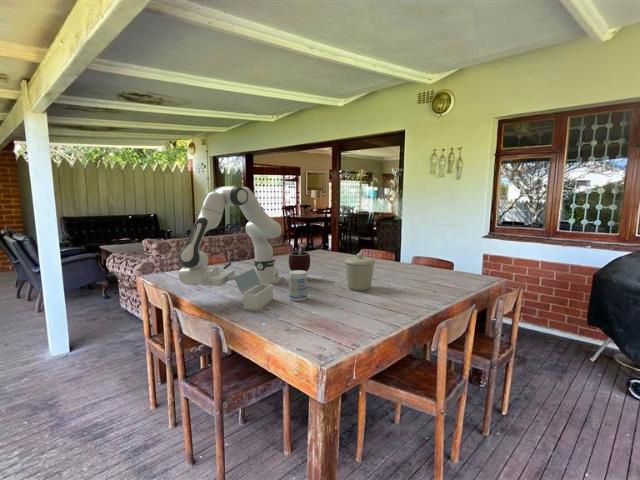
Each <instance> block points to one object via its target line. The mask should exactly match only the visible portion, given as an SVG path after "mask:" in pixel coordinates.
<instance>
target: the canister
mask: <svg viewBox="0 0 640 480" xmlns="http://www.w3.org/2000/svg"><path fill="white" fill-rule="evenodd" d="M343 262H344V264H345V273H346V284H347V287H348V289H350V290H353V291H359V292H360V291H366V290H367V291H368V290H369V289H371V286H372V282H373V276H374V275H373V274H374V268H375V263H376V260H374V259H373V258H371V257H367V256H364V255H363V253H359V252H358V253H357V254H356V256H351V257H347V258H346V259H345V260H344V261H343Z"/></svg>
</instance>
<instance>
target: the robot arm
mask: <svg viewBox="0 0 640 480" xmlns="http://www.w3.org/2000/svg"><path fill="white" fill-rule="evenodd" d="M226 206H227V207H234V206H235V207H236V206H237V207H239V208H240V210H241V213H242V214H243V215H244V217H245V219H246V220H247V221H248V222H247V223H246V224H245V233H246V234H247V235H248V236H249V237H250V239H251V241H252V245H253V247H254V248H253V249H254V266H253V268H254V269H255V271H256V274H257V276H258V278H259V280H260V281H259V282H260V284H272V285H274V284H279V283H280V281H281V280H282V279H283V276H282V275H279V268H277V266H276V265H275V263H276V259H275V258H274V254H273V253H274V250H273V246H272V245H271V244H270V243H269V241H268V240H269V239H270V240H272V239H277V238H279V237H280V236H281V235H282V226H281V224H280V223H279V222H277V221H276V220H274V219H273V218H272V217H270V215H268V214H267V213H266V211H265V210H264V209H263V208H262V205H261V204H260V202H259V201H258V199H257V196H256V195H255V194H254V193H253V191H252V190H251V189H250V188H249V187H248V186H238V185H236V186H235V185H226V186H222V185H221V186H218V187H216V188H215V189H214V190H213V191H211V192H209V193H208V194H207V195H206V197H205V199H204V200H203V203H202V206H201V209H200V212H199V215H198V218H197V219H196V221H195V222H194V224H193V226H192V229H191V230H190V234H189V236H188V239H187V241H186V243H185V245H184V246H183V247H182V249H181V250H180V252H179V254H178V262H179V264H180V265H181V266H182V268H181V269H179V272H178V280H179V281H180V283H181V284H183V285H187V286H203V287H204V286H205V287H214V286H215V287H216V286H217V287H222V286H223V285H225V284H226V283H227V282H229V281H231V282H232V281H235V279H234V277H236V276H238V275H237V274H235V270H234V269H230V268H226V269H223V268H221V267H214V268H208V264H209V257H208V254H207V253H205V252H204V251H201V250H200V246H201V244H202V241H203V238H204V236H205V234H206V233H208V231H210V230H213V229H216V228H217V227H218V226H219V224H220V223H221V221H222V217H223V214H224V209H225V207H226ZM257 283H258V282H257ZM255 284H256V283H255Z"/></svg>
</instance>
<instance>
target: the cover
mask: <svg viewBox="0 0 640 480" xmlns="http://www.w3.org/2000/svg"><path fill="white" fill-rule="evenodd" d="M234 279H235V280H234V281H235V283H236V286H237V287H238V290H239V292H240V294H241V295H243V294H244V293H246V292H248V291H249V290H251V289H253V288H254V287H256V286H258V285H259V284H260V282H259V281H260V280H259V278H258V276H257V274H256V271H255V269H254V267H253V268H251V269H249V270H247V271H245V272H243V273H240V274H239V275H238V276H236V277H234ZM257 282H258V283H257ZM255 283H256V284H255Z"/></svg>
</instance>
